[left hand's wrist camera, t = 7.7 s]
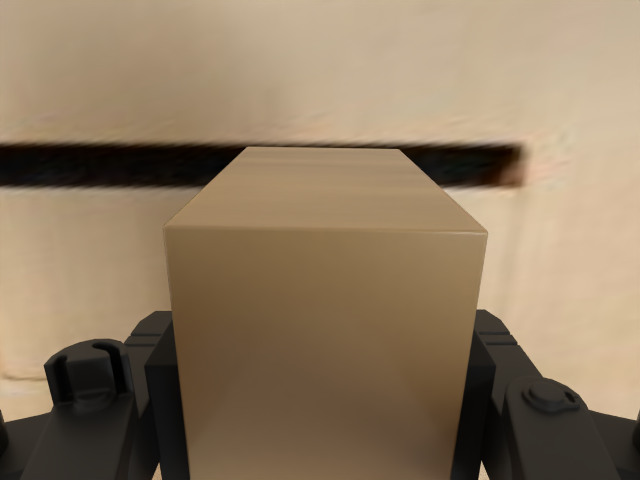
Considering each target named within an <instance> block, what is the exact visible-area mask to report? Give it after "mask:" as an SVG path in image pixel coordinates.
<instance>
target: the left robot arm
mask: <svg viewBox="0 0 640 480" xmlns="http://www.w3.org/2000/svg"><path fill="white" fill-rule="evenodd" d="M44 369H45V373H46V377H47V381H48V385H49V389H50V392H51V396H52V400H53V404H54V406H53V408H52V410H51V412H49V413H45V414H42V415H38V416H33V417H28V418H24V419H19V420H14V421H10V422H4V419H3V416H2V413H1V410H0V480H152V478H153V475H154V473H155V471H156V468H157V466H158V463H160V469H161V476H162V480H190V473H189V464H188V455H187V446H186V436H185V427H184V418H183V409H182V400H181V391H180V381H179V372H178V363H177V354H176V345H175V336H174V326H173V317H172V311H155V312H153V313H152V314H150V315H149V316H147V317H146V318H144V319H143V320H141V321H140V322H139V323H138V325H137V326H136V327H135V329H134V330H133V331H132V333H131V336H129V337H128V338H127V340H126V341H125V342H124V344H123V343H122V342H121V341H117V340H113V339H93V340H88V341H84V342H79V343H77V344H74V345H71V346H69V347H66V348H64V349H62V350H61V351H59V352H58V353H56V354H55V355H53V356H52V357H51V358H50V359H49V360H48V361H47V362H46V363H45V364H44ZM481 460H482V463H483V465H484V467H485V470H486V472H487V475H488V477H489V479H490V480H640V411H639V414H638V417H637V421H636V420H631V419H626V418H621V417H617V416H612V415H607V414H603V413H599V412H595V411H591V410H588V407H587V405H586V404H585V402H584V401H583V400H582V398H581V397H580V396H579V395H578V394H577V393H576V392H574V391H573V390H571V389H570V388H569V387H567V386H565V385H563V384H561V383H559V382H557V381H554V380H552V379H548V378H544V377H543V376H542V375H541V374H540V372H539V371H538V370H537V368H536V367H535V366H534V364H533V363H532V362H531V360H530V359H529V357H528V356H527V355H526V353H525V352H524V351H523V349H522V348H521V347H520V345H518V344H517V341H516V340H515V339H514V337H513V336H512V335H510V332H509V330H508V329H507V328H506V326H505V325H504V324H503V322H502V321H501V320H500V319H498V318H497V317H495V316H494V315H492V314H491V313H489V312H488V311H486V310H476V315H475V322H474V328H473V335H472V342H471V348H470V355H469V361H468V368H467V374H466V381H465V387H464V394H463V400H462V407H461V413H460V420H459V426H458V433H457V440H456V446H455V453H454V459H453V466H452V472H451V479H450V480H478V478H479V471H480V465H481Z"/></svg>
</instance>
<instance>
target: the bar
mask: <svg viewBox="0 0 640 480" xmlns="http://www.w3.org/2000/svg"><path fill="white" fill-rule="evenodd" d="M163 235H164V244H165V253H166V262H167V271H168V281H169V290H170V299H171V308H172V317H173V326H174V336H175V345H176V354H177V363H178V372H179V381H180V391H181V400H182V409H183V418H184V427H185V436H186V446H187V455H188V464H189V473H190V480H450V479H451V472H452V466H453V459H454V453H455V446H456V440H457V433H458V426H459V420H460V413H461V407H462V400H463V394H464V387H465V381H466V374H467V368H468V361H469V355H470V348H471V342H472V335H473V328H474V322H475V315H476V309H477V302H478V296H479V289H480V283H481V276H482V270H483V263H484V257H485V250H486V244H487V237H488V232H487V230H486V229H485V228H484V227H483V226H481V225H480V224H479V223H478V222H477V221H476V220H475V219H474V218H473V217H472V216H471V215H469V214H468V213H467V212H466V211H465V210H464V209H463V208H462V207H461V206H460V205H459V204H457V203H456V202H455V201H454V200H453V199H452V198H451V197H450V196H449V195H448V194H447V193H446V192H444V191H443V190H442V189H441V188H440V187H439V186H438V185H437V184H436V183H435V182H434V181H432V180H431V179H430V178H429V177H428V176H427V175H426V174H425V173H424V172H423V171H422V170H420V169H419V168H418V167H417V166H416V165H415V164H414V163H413V162H412V161H411V160H410V159H409V158H407V157H406V156H405V155H404V154H403V153H402V152H401V151H400V150H398V149H350V148H291V147H247V148H246V149H245V150H244V151H243V152H242V153H240V154H239V155H238V156H237V157H236V158H235V159H234V160H233V161H232V162H231V163H230V164H229V165H228V166H227V167H226V168H225V169H223V170H222V171H221V172H220V173H219V174H218V175H217V176H216V177H215V178H214V179H213V180H212V181H211V182H210V183H209V184H207V185H206V186H205V187H204V188H203V189H202V190H201V191H200V192H199V193H198V194H197V195H196V196H195V197H194V198H193V199H191V200H190V201H189V202H188V203H187V204H186V205H185V206H184V207H183V208H182V209H181V210H180V211H179V212H178V213H177V214H176V215H174V216H173V217H172V218H171V219H170V220H169V221H168V222H167V223H166V224H165V225H164V226H163Z"/></svg>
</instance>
